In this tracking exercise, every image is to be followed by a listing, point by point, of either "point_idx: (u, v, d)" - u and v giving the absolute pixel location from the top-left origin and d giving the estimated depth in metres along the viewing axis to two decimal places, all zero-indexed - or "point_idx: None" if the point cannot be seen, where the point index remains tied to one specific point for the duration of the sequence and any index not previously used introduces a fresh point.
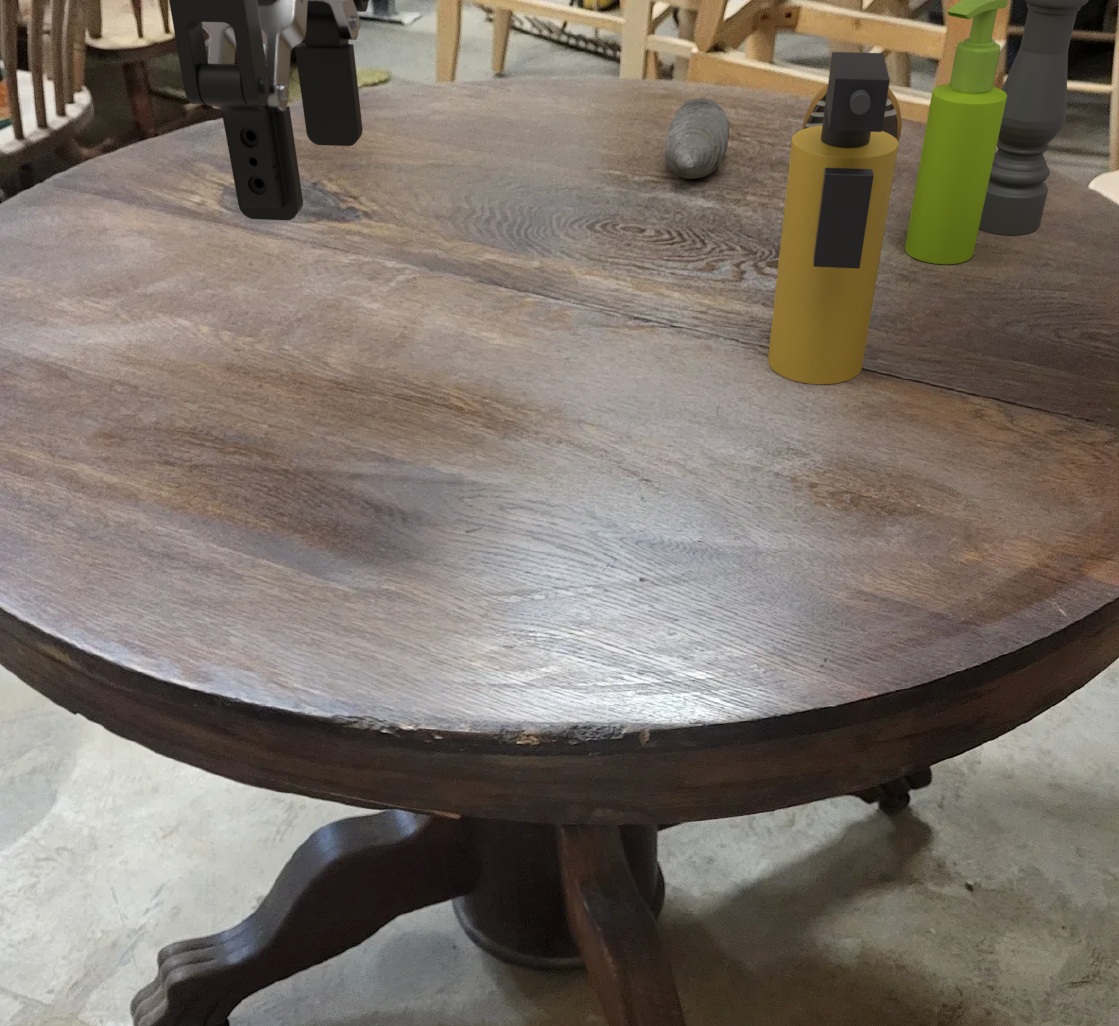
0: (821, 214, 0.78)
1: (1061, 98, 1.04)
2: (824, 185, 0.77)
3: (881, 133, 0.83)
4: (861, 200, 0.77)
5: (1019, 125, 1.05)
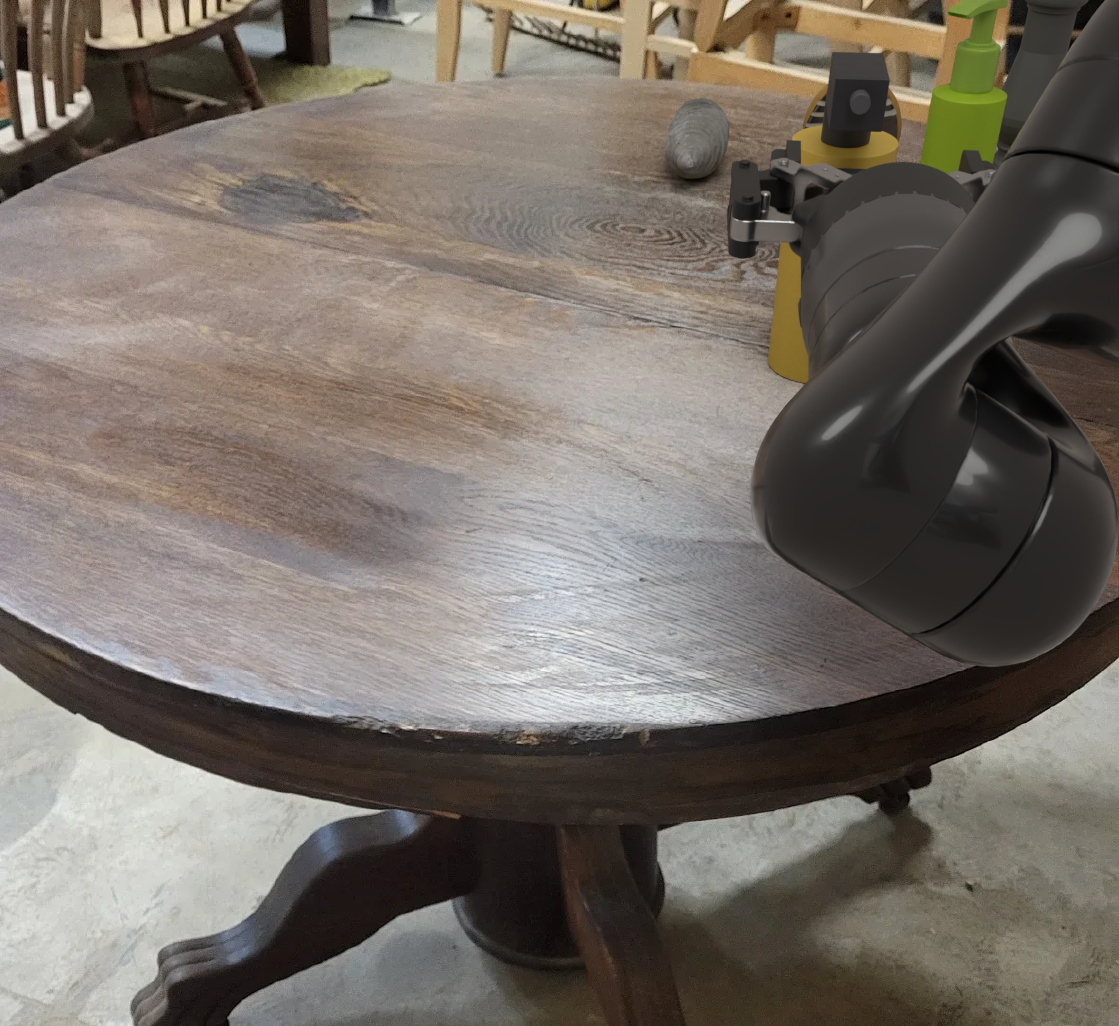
0: None
1: None
2: None
3: (881, 133, 0.83)
4: None
5: (1019, 125, 1.05)
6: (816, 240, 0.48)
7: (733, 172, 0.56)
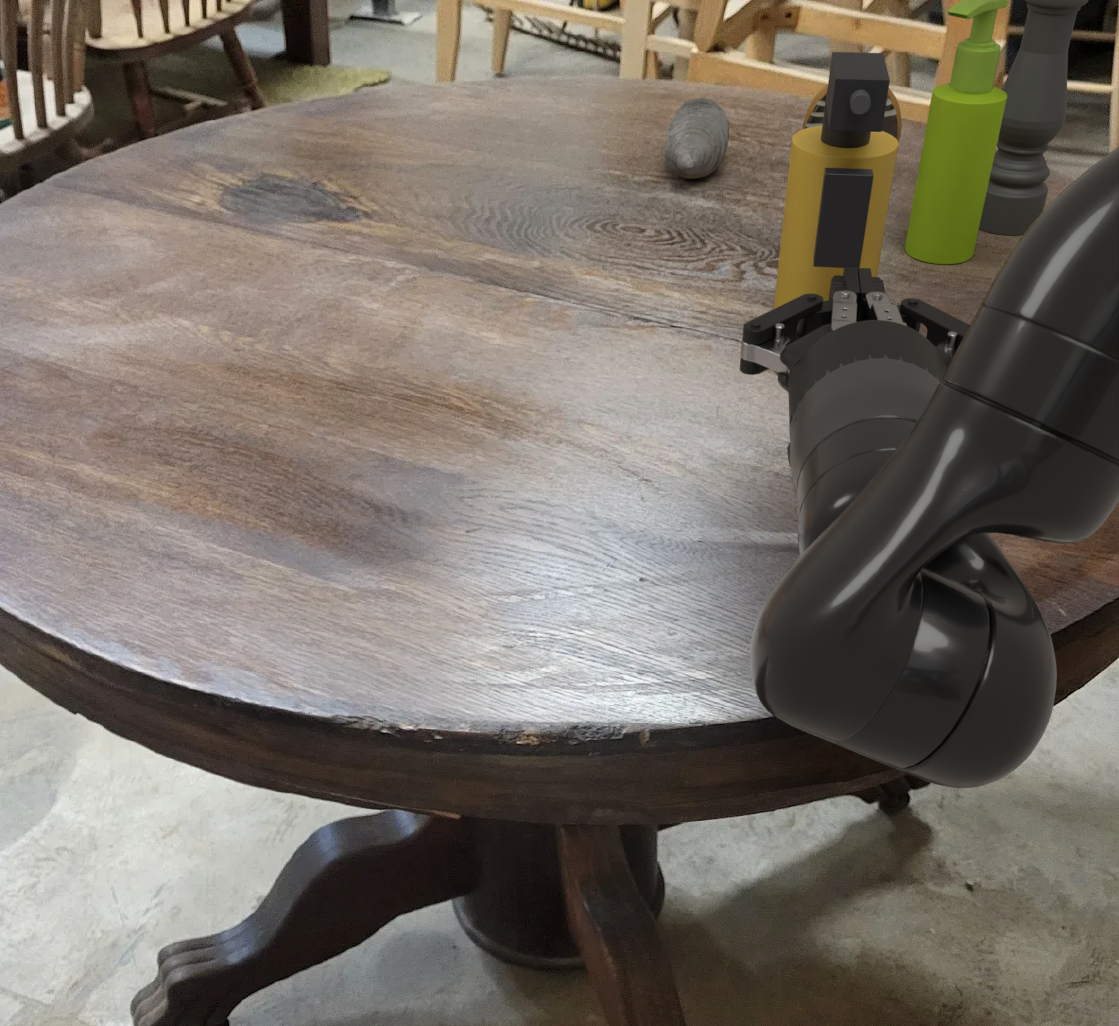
0: (821, 214, 0.78)
1: (1061, 98, 1.04)
2: (824, 185, 0.77)
3: (881, 133, 0.83)
4: (861, 200, 0.77)
5: (1019, 125, 1.05)
6: (801, 393, 0.56)
7: (789, 302, 0.65)
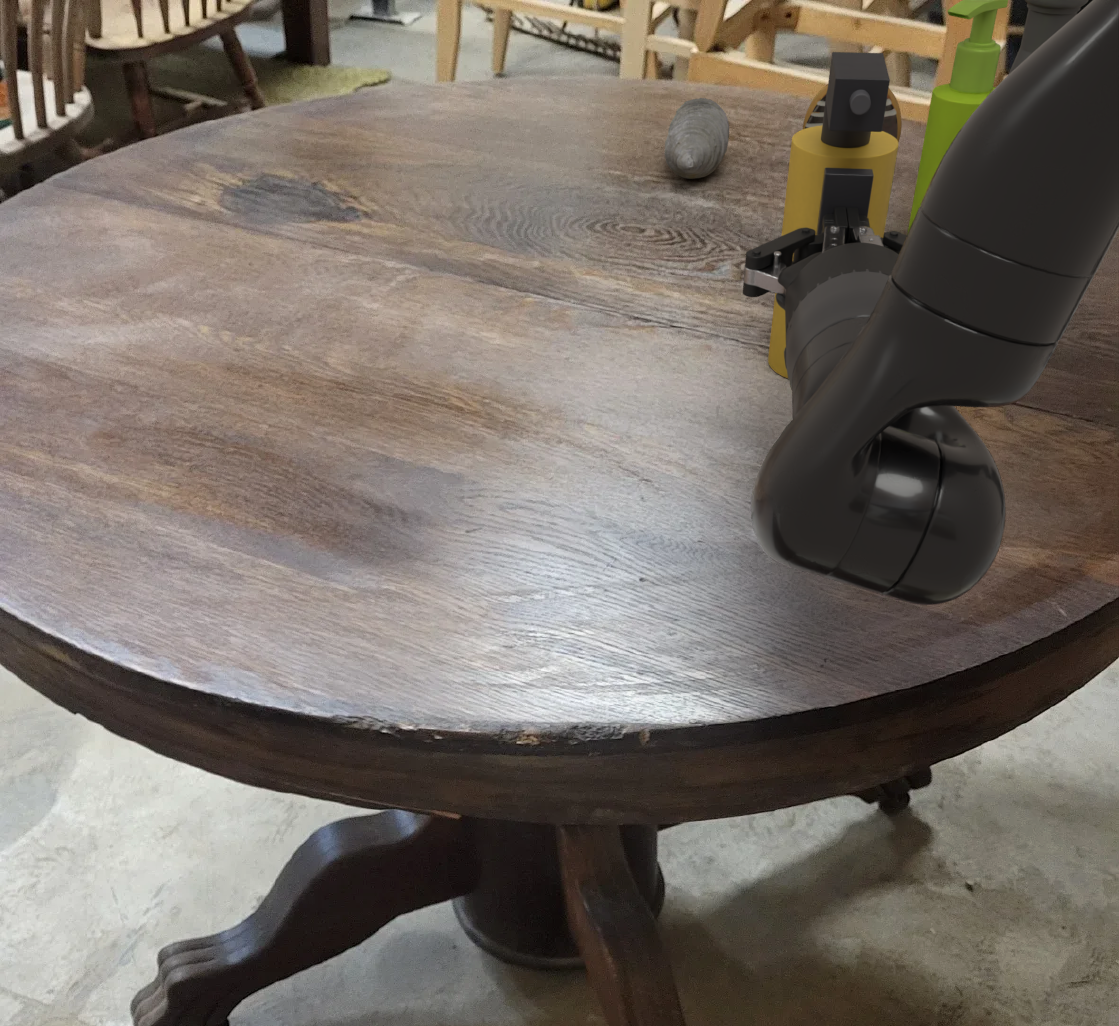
0: (821, 214, 0.78)
1: None
2: (824, 185, 0.77)
3: (881, 133, 0.83)
4: (861, 200, 0.77)
5: None
6: (796, 304, 0.65)
7: (786, 234, 0.74)
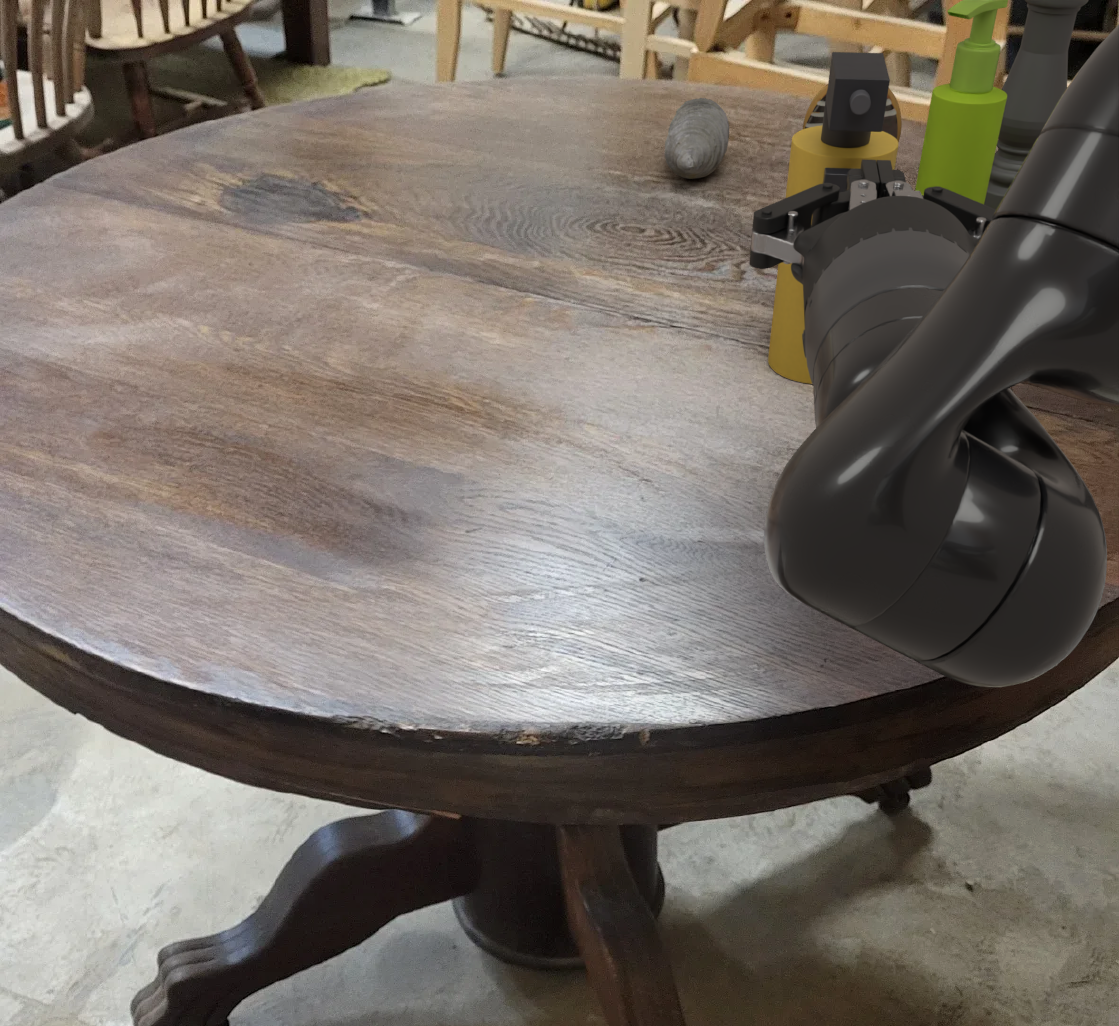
0: None
1: None
2: None
3: (881, 133, 0.83)
4: None
5: (1019, 125, 1.05)
6: (818, 274, 0.51)
7: (803, 191, 0.60)
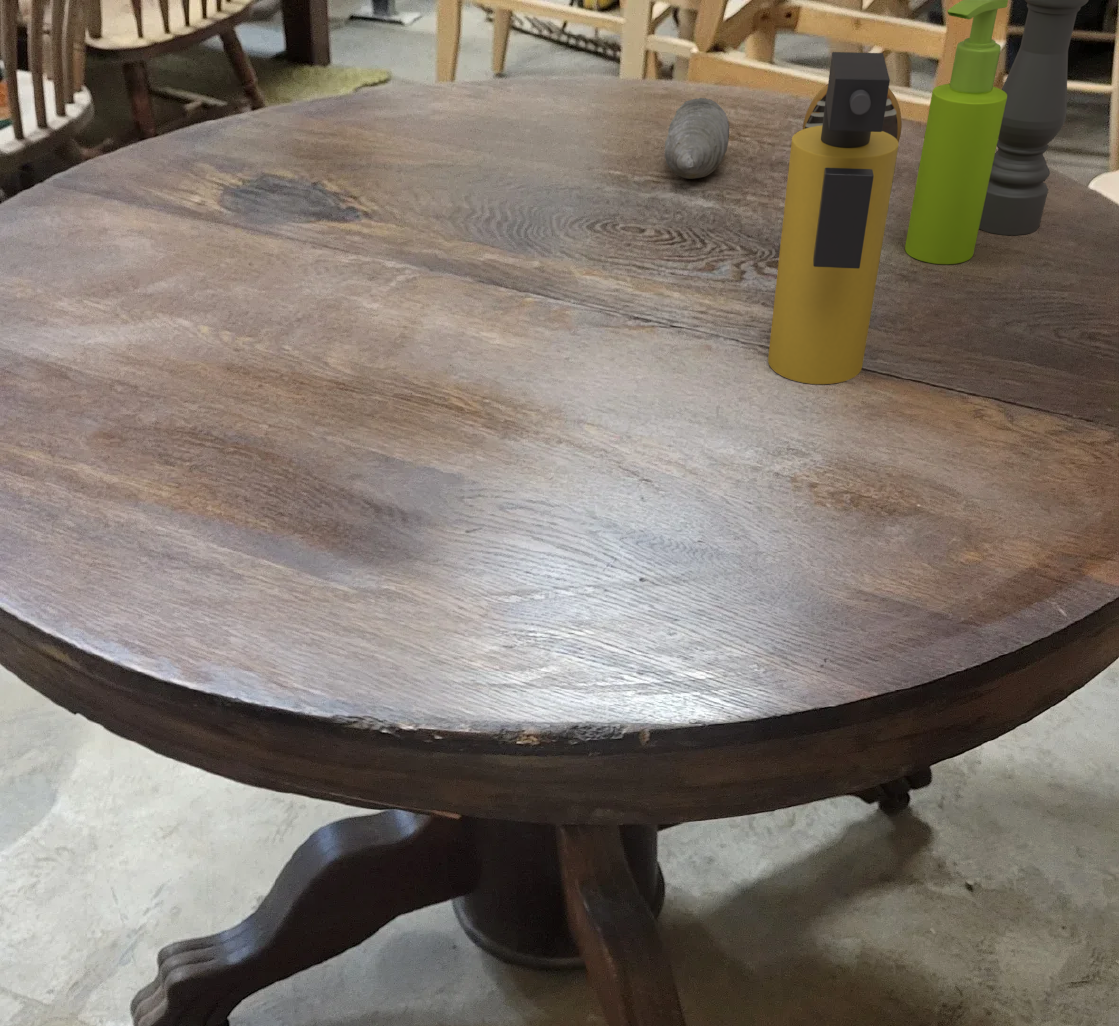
0: (821, 214, 0.78)
1: (1061, 98, 1.04)
2: (824, 185, 0.77)
3: (881, 133, 0.83)
4: (861, 200, 0.77)
5: (1019, 125, 1.05)
6: None
7: None
